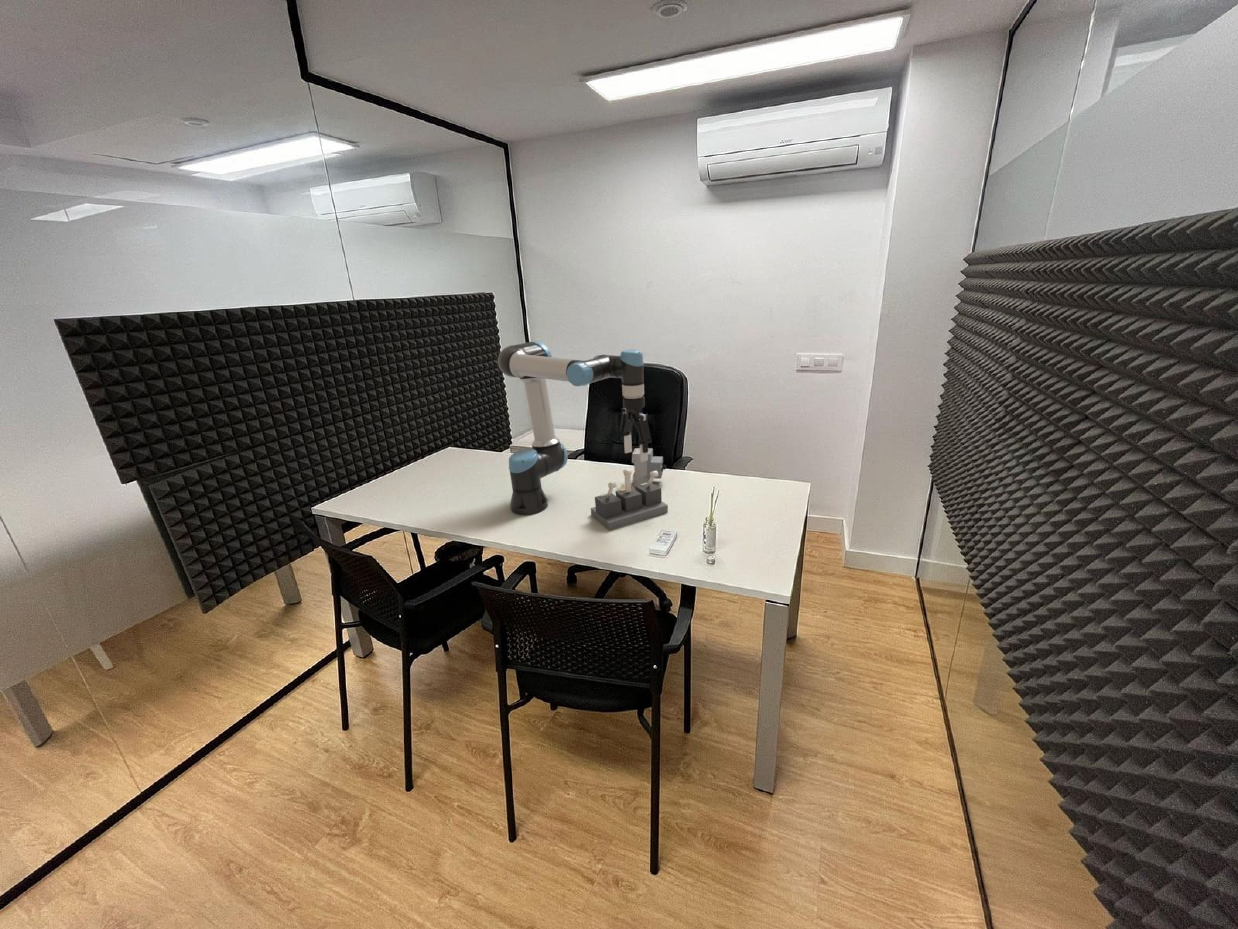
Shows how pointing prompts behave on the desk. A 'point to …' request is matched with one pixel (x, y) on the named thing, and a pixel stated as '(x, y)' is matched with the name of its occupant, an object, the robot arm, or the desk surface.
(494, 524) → the desk surface
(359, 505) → the desk surface
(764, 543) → the desk surface
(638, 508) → the breaker board
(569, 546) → the desk surface
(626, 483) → the handle
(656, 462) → the circuit breaker
